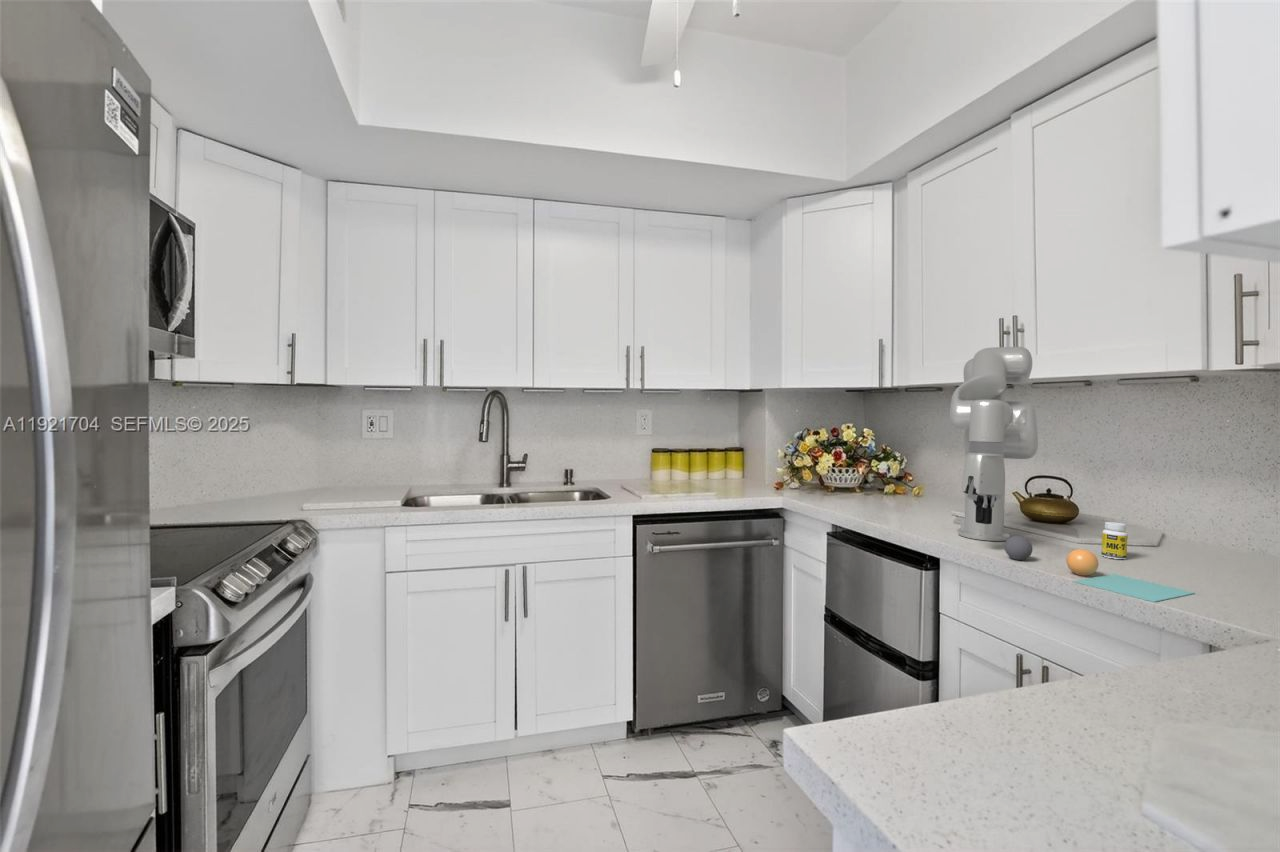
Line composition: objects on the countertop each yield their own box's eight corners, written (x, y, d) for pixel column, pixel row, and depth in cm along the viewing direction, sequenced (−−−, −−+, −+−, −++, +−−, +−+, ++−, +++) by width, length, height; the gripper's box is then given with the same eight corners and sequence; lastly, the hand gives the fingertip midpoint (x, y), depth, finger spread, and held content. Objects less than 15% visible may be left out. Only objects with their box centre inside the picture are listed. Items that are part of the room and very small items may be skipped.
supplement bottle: (1103, 558, 144) (1104, 523, 144) (1099, 554, 148) (1100, 520, 148) (1128, 561, 142) (1130, 526, 141) (1123, 557, 146) (1125, 522, 145)
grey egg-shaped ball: (998, 557, 143) (999, 534, 143) (1014, 555, 146) (1014, 532, 145) (1021, 563, 138) (1022, 539, 138) (1037, 561, 140) (1038, 537, 140)
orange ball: (1059, 573, 131) (1060, 547, 130) (1075, 570, 133) (1076, 545, 133) (1087, 580, 125) (1089, 553, 125) (1104, 577, 128) (1105, 551, 127)
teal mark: (1074, 581, 124) (1074, 580, 124) (1114, 574, 130) (1114, 573, 130) (1154, 602, 111) (1154, 601, 111) (1195, 593, 117) (1195, 592, 117)
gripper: (991, 449, 155) (989, 520, 155) (951, 448, 149) (949, 522, 149) (1020, 450, 149) (1018, 524, 149) (979, 449, 143) (976, 527, 142)
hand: (983, 523), depth 149 cm, fingers closed
